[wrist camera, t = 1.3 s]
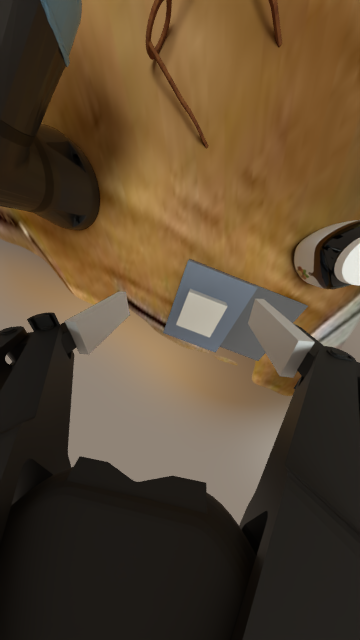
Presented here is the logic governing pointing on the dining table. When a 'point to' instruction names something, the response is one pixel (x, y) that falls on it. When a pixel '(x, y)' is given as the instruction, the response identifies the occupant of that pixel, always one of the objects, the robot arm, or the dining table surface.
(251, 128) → the dining table surface
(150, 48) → the glasses
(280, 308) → the mat
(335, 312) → the dining table surface
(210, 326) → the coaster
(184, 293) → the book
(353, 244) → the spread jar
